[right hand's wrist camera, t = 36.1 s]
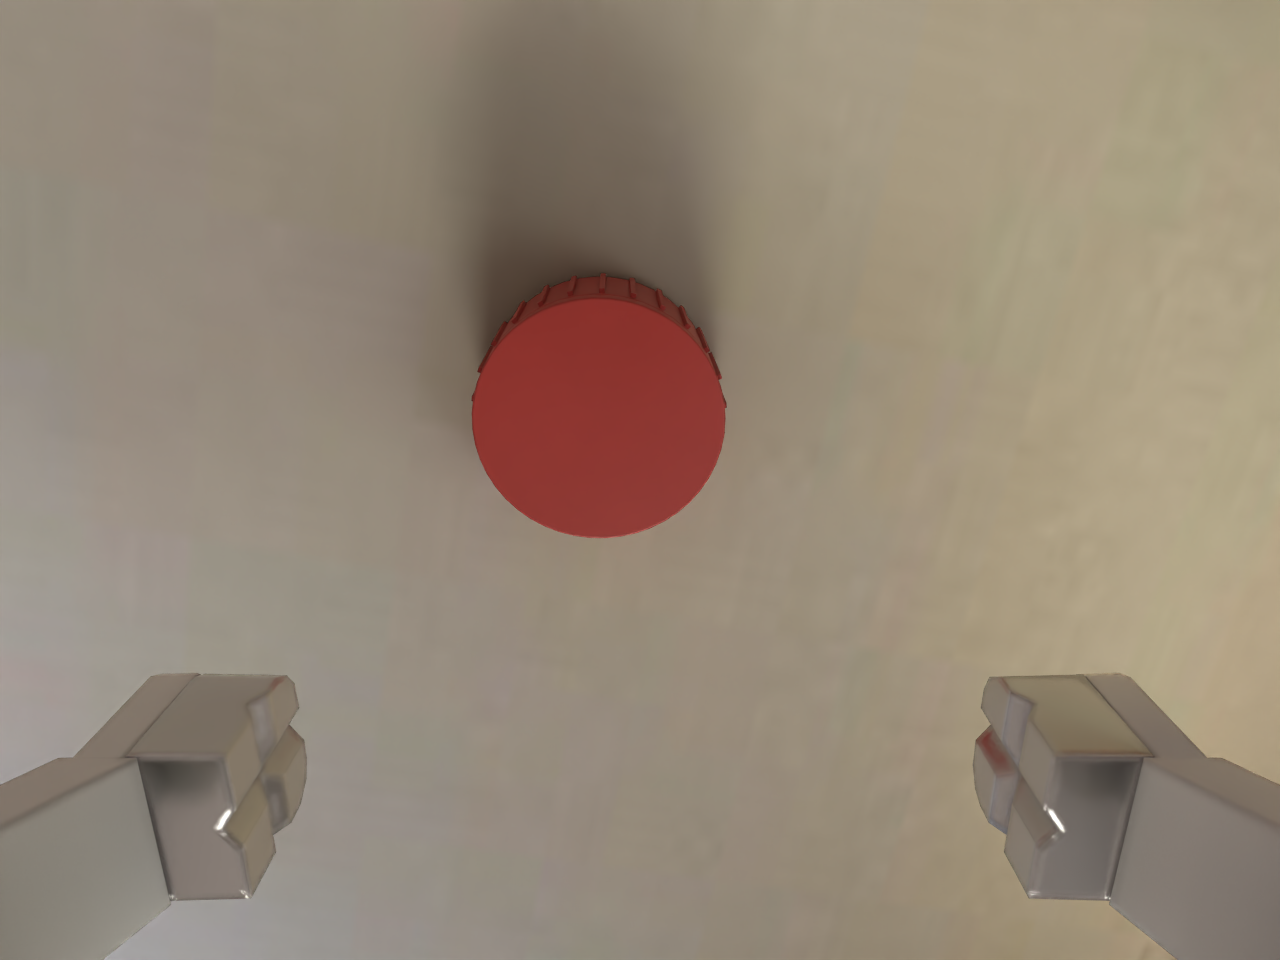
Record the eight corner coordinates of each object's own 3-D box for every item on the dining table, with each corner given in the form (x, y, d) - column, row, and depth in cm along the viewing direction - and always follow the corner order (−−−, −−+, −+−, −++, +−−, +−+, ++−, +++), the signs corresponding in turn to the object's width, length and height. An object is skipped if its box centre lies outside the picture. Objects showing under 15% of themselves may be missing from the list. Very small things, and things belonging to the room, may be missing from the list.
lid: (614, 220, 18) (614, 235, 16) (761, 403, 20) (781, 440, 17) (436, 375, 19) (412, 409, 17) (589, 536, 21) (585, 586, 18)
